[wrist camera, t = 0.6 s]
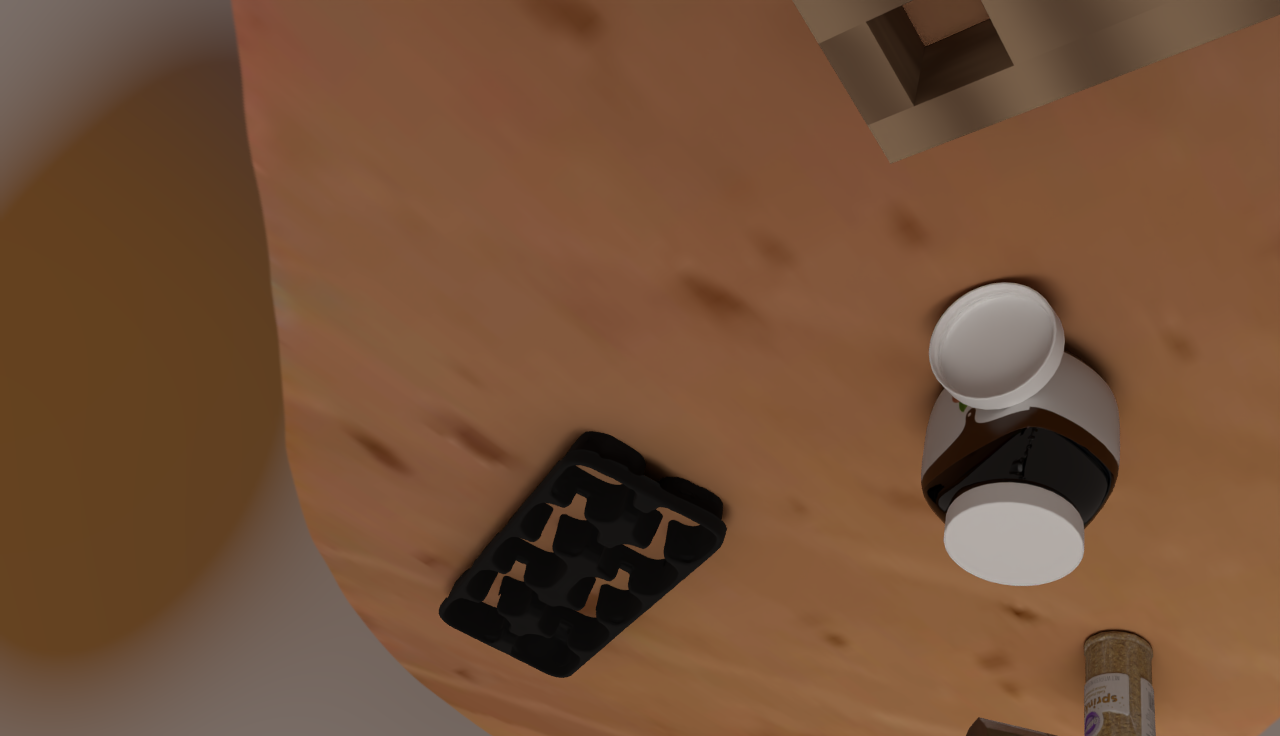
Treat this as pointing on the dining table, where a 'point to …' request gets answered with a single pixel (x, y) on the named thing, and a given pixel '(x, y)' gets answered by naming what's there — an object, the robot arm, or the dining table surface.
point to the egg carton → (584, 558)
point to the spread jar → (1015, 438)
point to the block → (1001, 57)
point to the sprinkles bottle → (1118, 686)
